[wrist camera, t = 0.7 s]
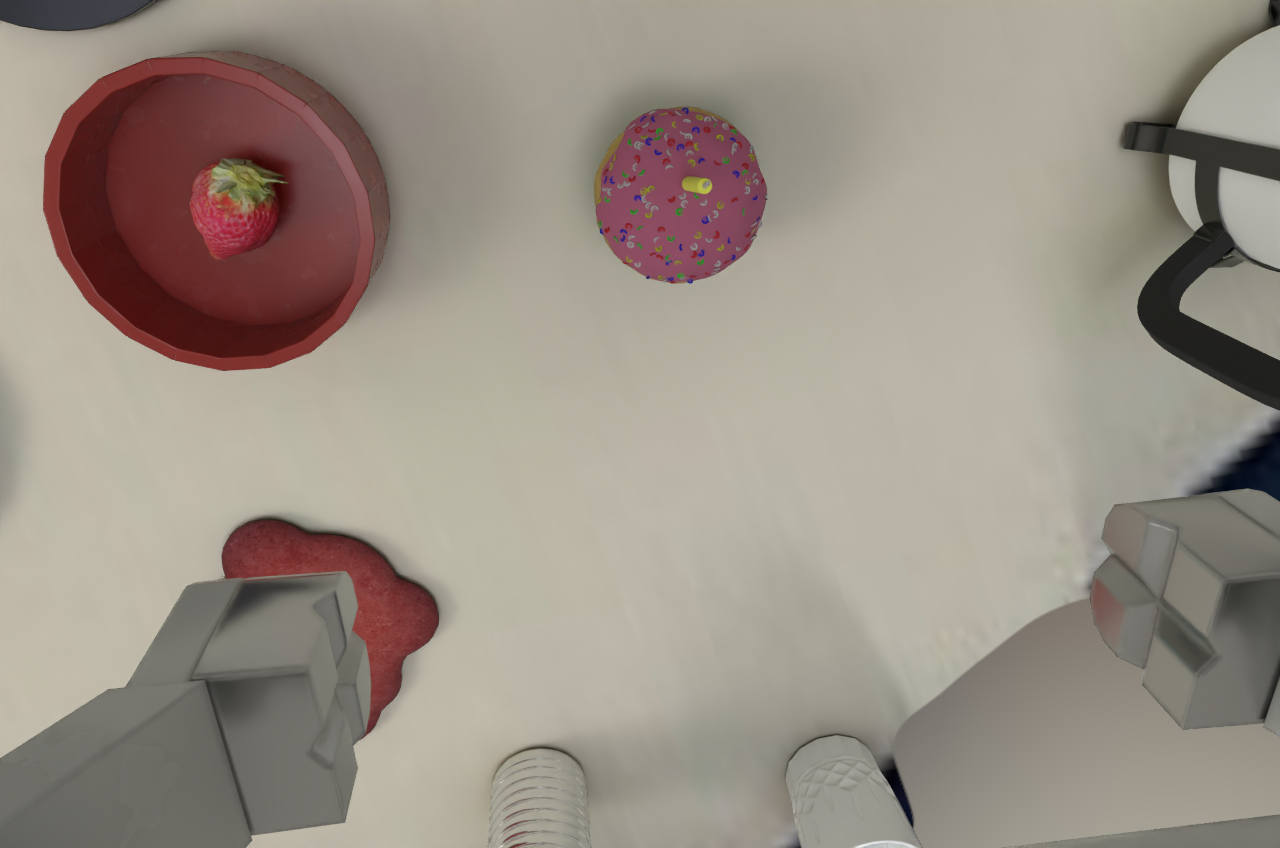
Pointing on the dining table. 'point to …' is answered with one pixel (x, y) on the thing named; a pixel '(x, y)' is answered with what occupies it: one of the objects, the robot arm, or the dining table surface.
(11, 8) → the pan lid
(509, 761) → the water bottle
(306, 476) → the dining table surface
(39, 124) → the dining table surface
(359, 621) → the patty
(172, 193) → the pan
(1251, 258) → the coffee press
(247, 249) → the fruit
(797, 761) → the white cup
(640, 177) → the cupcake
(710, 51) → the dining table surface
